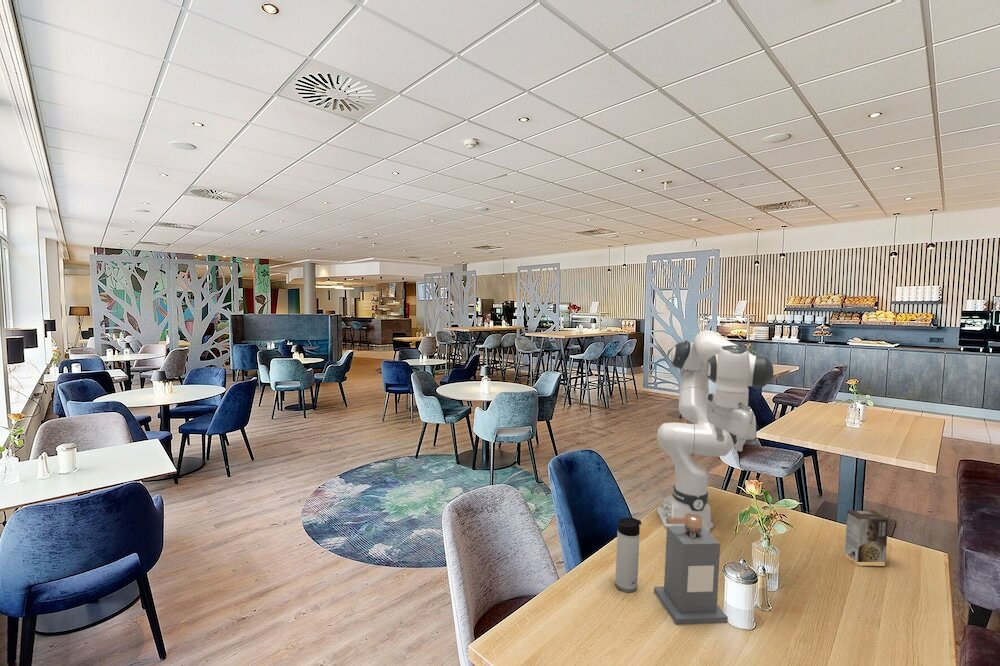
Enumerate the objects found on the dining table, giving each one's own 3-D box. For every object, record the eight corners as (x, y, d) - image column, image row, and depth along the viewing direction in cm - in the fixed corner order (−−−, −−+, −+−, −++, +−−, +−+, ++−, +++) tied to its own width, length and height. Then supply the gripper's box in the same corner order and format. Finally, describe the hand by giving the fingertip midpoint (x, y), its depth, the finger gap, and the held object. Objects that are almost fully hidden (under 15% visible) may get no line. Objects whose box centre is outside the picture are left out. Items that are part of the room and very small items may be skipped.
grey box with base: (653, 591, 136) (657, 522, 135) (700, 590, 138) (703, 521, 136) (676, 624, 123) (680, 548, 121) (727, 622, 124) (731, 547, 122)
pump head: (660, 581, 131) (664, 513, 130) (693, 580, 132) (697, 513, 131) (667, 591, 127) (671, 521, 126) (701, 590, 128) (705, 520, 126)
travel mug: (639, 594, 135) (642, 526, 134) (615, 590, 136) (618, 523, 135) (637, 581, 141) (640, 516, 140) (614, 578, 143) (617, 514, 141)
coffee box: (870, 556, 159) (874, 510, 158) (885, 567, 152) (889, 519, 151) (843, 555, 159) (846, 509, 158) (856, 566, 152) (860, 518, 151)
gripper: (763, 408, 131) (760, 456, 132) (722, 393, 151) (720, 436, 152) (742, 408, 130) (739, 457, 131) (703, 393, 151) (701, 436, 152)
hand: (728, 445), depth 142 cm, fingers open, 8 cm apart
